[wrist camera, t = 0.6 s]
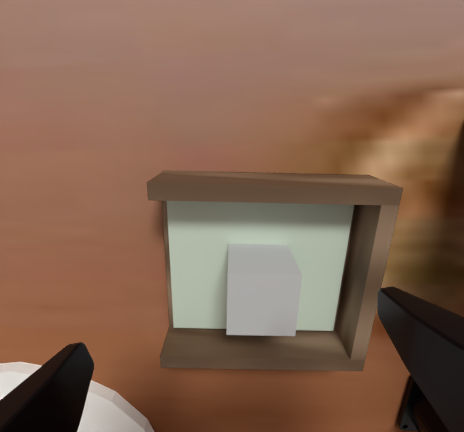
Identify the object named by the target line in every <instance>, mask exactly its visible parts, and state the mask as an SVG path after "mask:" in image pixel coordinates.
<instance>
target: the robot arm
mask: <svg viewBox="0 0 464 432" xmlns="http://www.w3.org/2000/svg"><path fill="white" fill-rule="evenodd" d="M377 311H378V316H379V318H380V320H381V322H382V324H383V326H384V328H385V329H386V331H387V333H388V335H389V337H390V339H391V341H392V342H393V344H394V346H395V348H396V350H397V352H398V353H399V355H400V357H401V359H402V361H403V363H404V364H405V366H406V368H407V369H408V371H409V372H410V374H411V378H410V381H409V385H408V388H407V392H406V395H405V398H404V402H403V405H402V409H401V412H400V415H399V419H398V422H397V424H398V426H399V427H400V429H401V430H409V431H418V432H464V317H461V316H459V315H457V314H455V313H452V312H450V311H448V310H445V309H443V308H441V307H439V306H436V305H434V304H432V303H430V302H427V301H425V300H423V299H421V298H418V297H416V296H414V295H411V294H409V293H407V292H405V291H402V290H400V289H398V288H396V287H386V288H381V289H379V290H378V303H377ZM93 370H94V363H93V360H92V358H91V356H90V354H89V352H88V350H87V348H86V346H85V344H84V343H81V342H79V343H74V344H69V345H67V346H66V347H65V348H63V349H62V350H61V351H60V352H58V353H57V354H56V355H55V356H54V357H52V358H51V359H50V360H49V361H47V362H46V363H45V364H44V365H43V366H41V367H40V368H39V369H38V370H36V371H35V372H34V373H33V374H32V375H30V376H29V377H28V378H27V379H25V380H24V381H23V382H22V383H20V384H19V385H18V386H17V387H16V388H14V389H13V390H12V391H11V392H9V393H8V394H7V395H6V396H5V397H3V398H2V399H1V400H0V432H77V431H78V427H79V424H80V421H81V417H82V414H83V410H84V406H85V402H86V398H87V394H88V390H89V386H90V382H91V378H92V374H93Z"/></svg>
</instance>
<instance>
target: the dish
mask: <svg viewBox="0 0 464 432" xmlns="http://www.w3.org/2000/svg"><path fill="white" fill-rule="evenodd" d="M40 367H41V365H36V364H30V363H25V362H13V363H1V364H0V400H1V399H2V398H3V397H5V396H6V395H7V394H8V393H9V392H11V391H12V390H13V389H14V388H16V387H17V386H18V385H19V384H20V383H22V382H23V381H24V380H25V379H27V378H28V377H29V376H30V375H32V374H33V373H34V372H35V371H36V370H38V369H39V368H40ZM77 432H154V430H153V428H152V426H151V425H150V423H149V421H148V419H147V418H146V417H145V416H144V415H142V414H141V413H140V412H139V411H138V410H137V409H135V408H134V407H133V406H132V405H131V404H130V403H128V402H127V401H126V400H125V399H124V398H123V397H122V396H120V395H119V394H118V393H117V392H116V391H114V390H112V389H109V388H107V387H105V386H103V385H101V384H99V383H96V382H94V381H92V380H91V382H90V386H89V390H88V394H87V398H86V402H85V406H84V410H83V414H82V417H81V421H80V424H79V427H78V431H77Z"/></svg>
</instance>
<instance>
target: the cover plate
mask: <svg viewBox="0 0 464 432" xmlns="http://www.w3.org/2000/svg"><path fill="white" fill-rule="evenodd" d="M353 209H354V205H343V204H296V203H249V202H202V201H167V216H168V234H169V253H170V271H171V289H172V307H173V326H174V328H209V329H227V331H226V335H260V336H295V333H296V330H316V331H333V329H334V323H335V317H336V311H337V305H338V299H339V293H340V287H341V281H342V275H343V269H344V263H345V257H346V251H347V245H348V239H349V233H350V227H351V221H352V215H353Z"/></svg>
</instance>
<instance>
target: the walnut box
mask: <svg viewBox="0 0 464 432" xmlns="http://www.w3.org/2000/svg"><path fill="white" fill-rule="evenodd" d="M147 191H148V200H154V201H162V209H163V225H164V242H165V258H166V275H167V292H168V308H169V325H170V326H169V329H168V332H167V336H166V339H165V342H164V345H163V349H162V352H161V355H160V361H161V368H208V369H264V370H320V371H363V367H364V362H365V358H366V353H367V349H368V344H369V340H370V335H371V331H372V326H373V322H374V317H375V313H376V308H377V303H378V290H379V289H381V286H382V281H383V277H384V272H385V268H386V263H387V259H388V254H389V250H390V245H391V240H392V236H393V231H394V227H395V222H396V218H397V213H398V209H399V204H400V200H401V195H402V191H403V188H401V187H399V186H396V185H394V184H391V183H388V182H386V181H383V180H381V179H378V178H375V177H373V176H370V175H342V174H296V173H250V172H205V171H163V172H161V173H160V174H158V175H157V176H156V177H154V178H153V179H151V180H150V181H148V182H147ZM167 201H202V202H249V203H296V204H343V205H354V209H353V215H352V221H351V227H350V233H349V239H348V245H347V251H346V257H345V263H344V269H343V275H342V281H341V287H340V293H339V299H338V305H337V311H336V317H335V323H334V329H333V331H316V330H296V333H295V336H260V335H226V331H227V329H209V328H174V326H173V307H172V289H171V271H170V253H169V234H168V216H167Z"/></svg>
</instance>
